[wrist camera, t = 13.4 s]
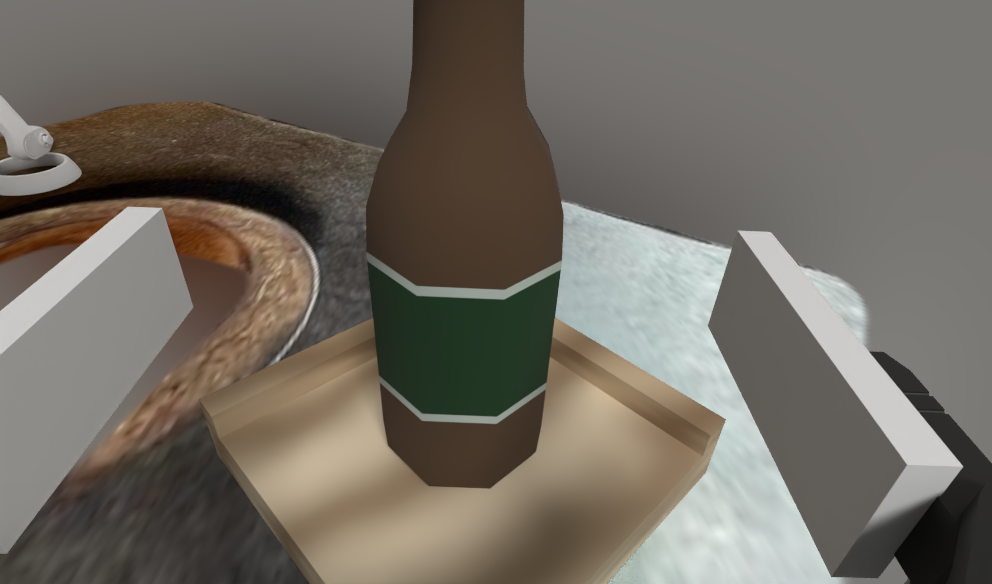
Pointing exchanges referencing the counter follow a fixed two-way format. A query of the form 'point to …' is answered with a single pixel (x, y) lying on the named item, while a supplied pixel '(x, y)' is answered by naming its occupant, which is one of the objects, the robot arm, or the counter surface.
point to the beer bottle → (465, 251)
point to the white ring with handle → (31, 157)
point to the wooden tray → (454, 510)
